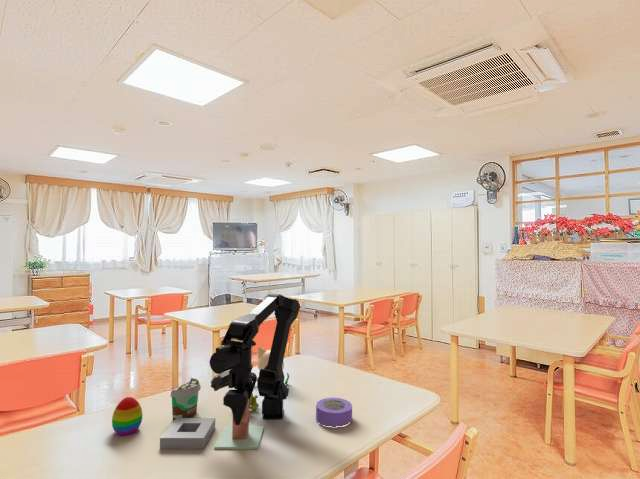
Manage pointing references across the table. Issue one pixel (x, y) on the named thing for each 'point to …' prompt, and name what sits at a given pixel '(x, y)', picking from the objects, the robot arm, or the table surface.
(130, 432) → the decorative egg
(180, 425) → the pocket block
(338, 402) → the tape roll
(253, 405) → the bird rattle
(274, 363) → the robot arm
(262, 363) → the kitten
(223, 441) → the board
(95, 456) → the table surface
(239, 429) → the peg
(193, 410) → the food container
